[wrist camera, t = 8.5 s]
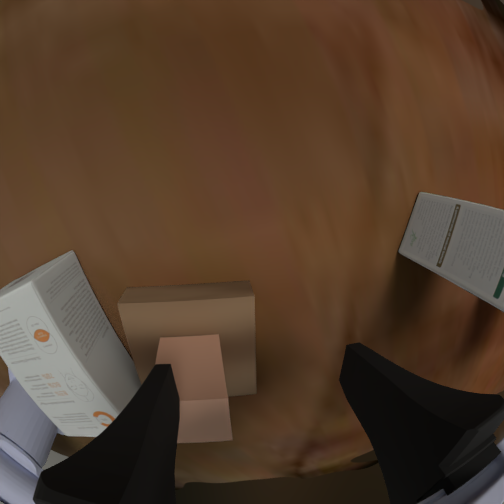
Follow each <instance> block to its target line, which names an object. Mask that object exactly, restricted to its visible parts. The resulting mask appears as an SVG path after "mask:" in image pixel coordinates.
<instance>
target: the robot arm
mask: <svg viewBox="0 0 504 504" xmlns="http://www.w3.org/2000/svg"><path fill="white" fill-rule="evenodd" d="M8 371H9V379H10V385H9V386H8V388H7V389H6V391H5V392H4V394H3V395H2V397H1V398H0V501H1V502H3V503H4V504H176V498H175V476H174V469H175V456H176V447H177V438H178V430H179V421H180V398H179V394H178V391H177V387H176V383H175V379H174V375H173V371H172V367H171V364H156V365H155V366H154V367H153V368H152V370H151V371H150V373H149V375H148V376H147V378H146V379H145V381H144V382H143V384H142V385H141V387H140V388H139V389H138V391H137V392H136V393H135V395H134V396H133V398H132V399H131V400H130V402H129V403H128V404H127V405H126V407H125V408H124V409H123V410H122V411H121V413H120V414H119V415H118V416H117V417H116V418H115V420H114V421H113V422H112V423H111V424H110V425H109V426H108V427H107V428H106V429H105V430H104V431H103V432H102V433H101V434H99V435H98V436H97V437H96V438H95V439H94V440H93V441H91V442H90V443H89V444H88V445H86V446H85V447H84V448H82V449H81V450H79V451H78V452H76V453H75V454H73V455H72V456H70V457H69V458H67V459H65V460H64V461H62V462H60V463H58V464H56V465H54V466H52V467H50V468H48V469H46V470H43V469H42V467H43V466H44V465H45V463H46V460H47V458H48V455H49V452H50V450H51V447H52V444H53V442H54V439H55V437H56V434H57V433H59V434H61V435H64V433H63V432H62V431H61V430H60V429H59V428H58V427H57V426H56V425H55V424H54V423H53V422H52V421H51V420H50V419H49V418H48V417H47V415H46V414H45V413H44V412H43V411H42V410H41V409H40V408H39V406H38V405H37V404H36V403H35V402H34V401H33V399H32V398H31V397H30V396H29V394H28V393H27V392H26V391H25V389H24V388H23V387H22V386H21V384H20V383H19V382H18V380H17V379H16V377H15V376H14V375H13V373H12V372H11V370H10V369H9V368H8ZM339 381H340V383H341V386H342V389H343V391H344V394H345V396H346V398H347V400H348V402H349V404H350V406H351V407H352V409H353V411H354V413H355V414H356V416H357V418H358V420H359V421H360V423H361V425H362V427H363V428H364V430H365V432H366V434H367V435H368V437H369V439H370V441H371V444H372V446H373V449H374V451H375V454H376V456H377V459H378V462H379V464H380V467H381V470H382V473H383V476H384V480H385V483H386V486H387V490H388V495H389V499H390V503H391V504H502V503H503V502H504V438H503V439H502V440H501V441H500V442H499V443H498V444H497V445H495V444H494V441H495V440H496V437H495V436H494V434H493V433H494V432H495V430H496V429H497V428H498V426H499V425H500V424H501V422H502V421H503V420H504V399H503V398H502V397H501V396H500V395H495V394H479V393H472V392H466V391H461V390H457V389H453V388H449V387H446V386H442V385H439V384H436V383H434V382H431V381H429V380H426V379H424V378H421V377H419V376H417V375H415V374H413V373H411V372H409V371H407V370H405V369H403V368H401V367H400V366H398V365H396V364H394V363H393V362H391V361H389V360H388V359H386V358H384V357H383V356H381V355H379V354H378V353H376V352H374V351H373V350H371V349H369V348H368V347H366V346H364V345H363V344H361V343H354V344H349V345H346V350H345V355H344V360H343V365H342V369H341V374H340V378H339Z"/></svg>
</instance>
